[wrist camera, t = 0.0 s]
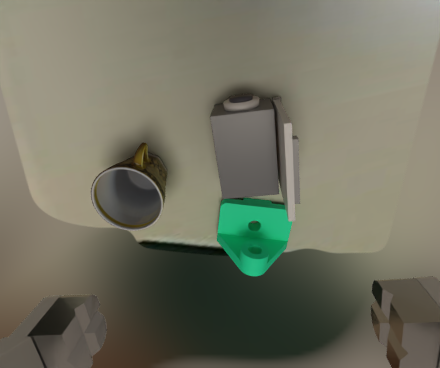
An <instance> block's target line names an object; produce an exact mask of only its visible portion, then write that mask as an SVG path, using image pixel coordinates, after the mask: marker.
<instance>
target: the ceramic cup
mask: <svg viewBox="0 0 440 368" xmlns="http://www.w3.org/2000/svg"><path fill="white" fill-rule="evenodd" d="M166 178H167V169H166V168H165V166H164V164H163V163H162V161H161V159H160V158H159V157H158V156H156V155H153V154H150V153H148V145H147V144H146V143H142V144H141V145H140V146H139V148H138V150H137V151H136V154H135V156H133V157H131V158H129V159H127V160H126V161H124V162H121V163H118V164H116V165H114V166H112V167H109V168H108V169H106V170H104V171H103V172H101V173H100V174H99V175H98V176H97V177H96V178H95V180H94V182H93V184H92V188H91V199H92V202H93V205H94V207H95V209H96V211H97V212H98V214H99V215H100V216H101V217H102V218H103V219H104V220H105V221H107V222H108V223H110V224H111V225H113V226H115V227H117V228H120V229H124V230H130V231H136V230H142V229H146V228H148V227H150V226H152V225H153V224H154V223H155V222H156V221H157V220H158V219H159V218H160V216H161V214H162V211H163V206H164V201H165V185H166Z"/></svg>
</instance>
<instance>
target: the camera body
mask: <svg viewBox="0 0 440 368" xmlns="http://www.w3.org/2000/svg"><path fill="white" fill-rule="evenodd" d="M210 119H211V125H212V132H213V138H214V145H215V152H216V158H217V165H218V171H219V178H220V184H221V191H222V197H223V199H229V198H241V197H252V196H264V195H275V194H279V185H278V168H277V152H276V135H275V119H274V108H273V105H272V103H271V100H270V98H266V99H259V97H257V96H253V94H238V95H233V96H231V97H229V99H228V100H226V101H224V102H223V104H218V105H215V106H214V108H213V111H212V113H211V116H210Z"/></svg>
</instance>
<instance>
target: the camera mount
mask: <svg viewBox="0 0 440 368" xmlns="http://www.w3.org/2000/svg"><path fill="white" fill-rule="evenodd" d="M251 221H258V223H251ZM291 225H292V221H288V217H287V213H286V209H285V205H281V204H272V202H271V201H269V200H260V199H251V198H243V200H237V199H224V200H222V202H221V207H220V216H219V225H218V235H217V241H218V242H219V244H220V245H221V246H222V247H223V249H224V250H225V251H226V252H227V254H228V255H229V256H230V257H231V259H232V260H233V261H234V262H235V264H236V265H237V266H238V268H239V269H240V270H241V271H242V272H243V273H245V274H247V275H250V276H260V275H262V274H263V273H265V271H266V270H267V269H268V268H269V267H270V266H271V265H272V264H273V262H274V261H275V260H276V259H277V258H278V257H279V256H280V255H281V253H282V252H283V251H284V250H285V249H286V246H287V242H288V238H289V234H290V229H291Z"/></svg>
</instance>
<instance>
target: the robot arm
mask: <svg viewBox="0 0 440 368" xmlns="http://www.w3.org/2000/svg"><path fill="white" fill-rule="evenodd" d="M372 294H373V296H374V297H375V299H376V300H375V302H374V303H373V304H372V305H371V318H372V324H373V328H374V331H375V334H376V336H377V338H378V340H379V342H380V343H381V344H383V345H384V346H386V347H387V355H386V356H387V359H388V361H389V363H390V365H391V367H392V368H440V281H439V280H438V279H437V278H436V277H433V276H428V277H415V278H407V279H389V280H374V281H373V284H372ZM99 306H100V303H99V300H98V298H97V296H95V295H93V294H89V295H63V296H61V295H59V296H48V297H45V298H43V299H42V301H41V302H40V303H39V304H38V305H37V306H36V307H35V308H34V309H33V311H32V312H31V313H30V314H29V315H28V316H27V317H26V318H25V320H24V321H23V322H22V323H21V324H20V325H19V326H18V327H17V329H16V330H15V331H14V332H13V333H12V334H11V335H10V336H9V337H7V338H2V339H1V340H0V368H91V366H92V364H93V360H92V356H93V355H94V354H95V353H96V352H98V351H99V350H100V349H101V347H102V345H103V343H104V341H105V336H106V331H107V329H106V321H105V318H104V316H103V315H102V314H101V313H100V312H98V308H99Z"/></svg>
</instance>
